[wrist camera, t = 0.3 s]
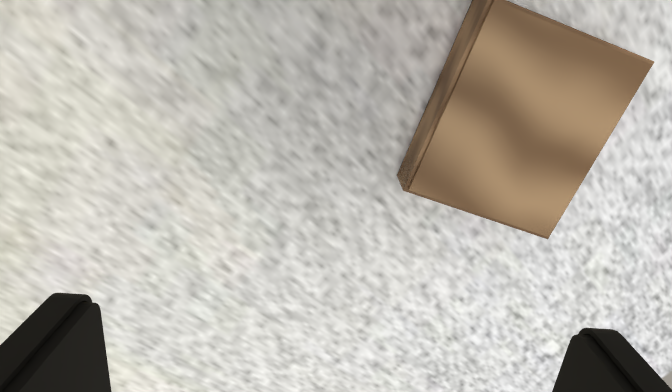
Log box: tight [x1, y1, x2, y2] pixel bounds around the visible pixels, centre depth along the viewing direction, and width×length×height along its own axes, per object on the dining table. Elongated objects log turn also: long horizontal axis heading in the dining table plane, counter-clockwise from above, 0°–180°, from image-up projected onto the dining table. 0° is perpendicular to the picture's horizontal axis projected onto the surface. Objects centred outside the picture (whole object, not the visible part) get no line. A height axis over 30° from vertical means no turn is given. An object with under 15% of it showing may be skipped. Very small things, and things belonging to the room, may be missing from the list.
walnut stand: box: [397, 0, 654, 239], centre depth 35 cm, size 15×13×4 cm
